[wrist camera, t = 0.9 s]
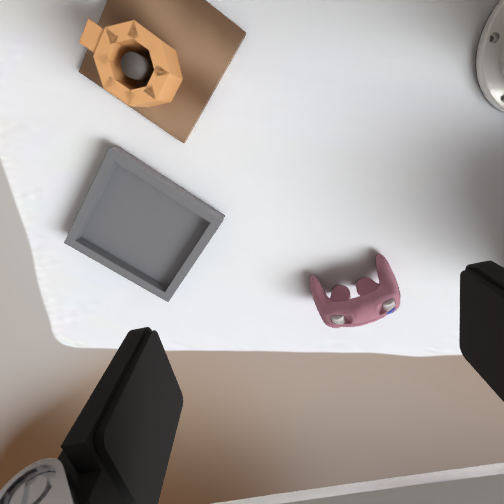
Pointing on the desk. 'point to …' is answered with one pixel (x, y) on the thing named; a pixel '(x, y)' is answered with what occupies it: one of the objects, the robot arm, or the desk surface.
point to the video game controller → (358, 299)
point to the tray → (142, 224)
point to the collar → (135, 40)
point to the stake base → (188, 52)
